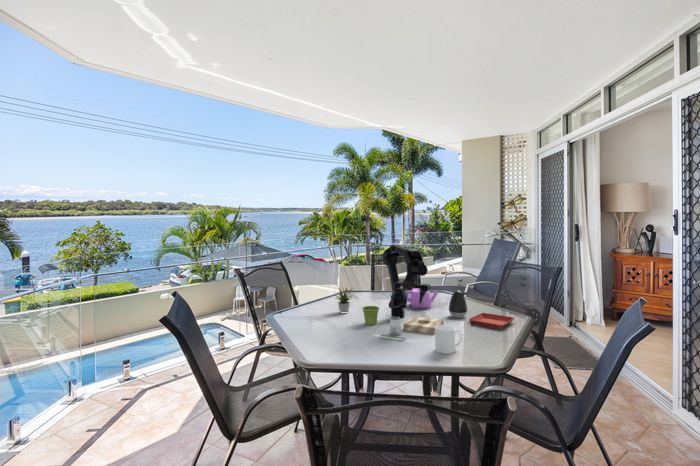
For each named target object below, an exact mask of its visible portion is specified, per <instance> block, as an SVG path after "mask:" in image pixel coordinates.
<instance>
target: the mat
mask: <svg viewBox="0 0 700 466" xmlns="http://www.w3.org/2000/svg"><path fill="white" fill-rule="evenodd" d="M378 339H385V340H390V341H391V340H392V341H396V342H397V341H398V342H404V341H405V340H406V339H407V338H404V337H398V336H393V335H385V334H380V336H378Z"/></svg>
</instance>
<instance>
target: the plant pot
mask: <svg viewBox="0 0 700 466" xmlns="http://www.w3.org/2000/svg"><path fill="white" fill-rule="evenodd" d="M361 309H362V312H363V315H364V316H363V317H364V324H365V325H368V326H375V325H377V323H378V314H379V310H380V306H377V305H366V306H365V305H364V306H363V307H362V308H361Z"/></svg>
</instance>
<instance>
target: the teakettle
mask: <svg viewBox="0 0 700 466" xmlns="http://www.w3.org/2000/svg"><path fill="white" fill-rule="evenodd" d="M419 291H421V290H420V289H419V288H412V289H411V290H405V293H406V298H407V302H408V303H410V306H411V308H412V309H426V310H427V309H431V305H432V303H434V300H435V298H436V297H437V295H438V293H439V292H438V291H434V293H433V294H431V292H430V290H429V291H427V292H426V293H425V295H424V297H423V300H422V302H421V303H420V292H419ZM409 294H410V297H409Z"/></svg>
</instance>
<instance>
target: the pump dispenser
mask: <svg viewBox="0 0 700 466" xmlns="http://www.w3.org/2000/svg"><path fill="white" fill-rule="evenodd" d="M466 295H468V291H465V292H462V291H460V290H455V291H453V293H452V294H451V296H450V300H449V304H448V311H449V313H450V316H452V317H453V318H456V319H463V318H465V317H466V315H467V312H468V303H467V300H466V297H465V296H466Z"/></svg>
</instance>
